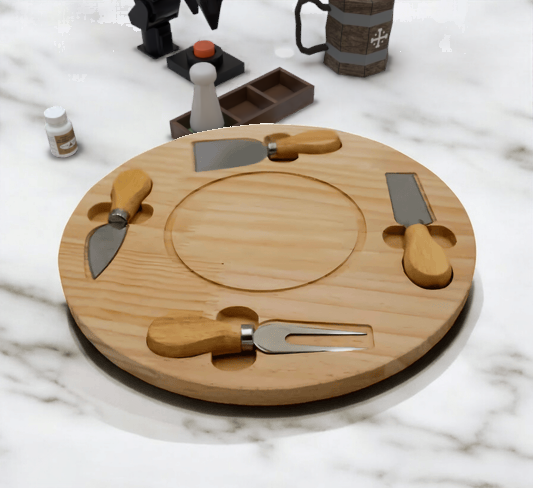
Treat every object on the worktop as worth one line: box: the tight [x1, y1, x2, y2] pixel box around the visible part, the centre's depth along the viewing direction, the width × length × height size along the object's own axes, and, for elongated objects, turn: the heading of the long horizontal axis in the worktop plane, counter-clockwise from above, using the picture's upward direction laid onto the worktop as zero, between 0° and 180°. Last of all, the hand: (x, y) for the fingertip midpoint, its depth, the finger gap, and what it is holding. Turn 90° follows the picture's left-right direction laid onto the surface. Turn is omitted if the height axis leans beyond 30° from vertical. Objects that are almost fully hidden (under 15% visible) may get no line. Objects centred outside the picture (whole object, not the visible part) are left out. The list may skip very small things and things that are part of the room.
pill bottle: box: [43, 105, 79, 158], centre depth 108 cm, size 4×4×8 cm
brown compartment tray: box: [169, 66, 316, 140], centre depth 116 cm, size 9×26×4 cm, turn 133°
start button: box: [192, 39, 215, 58], centre depth 126 cm, size 4×4×2 cm
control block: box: [165, 43, 245, 87], centre depth 127 cm, size 12×10×4 cm
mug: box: [294, 0, 396, 79], centre depth 126 cm, size 20×14×15 cm
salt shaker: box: [190, 62, 224, 133], centre depth 108 cm, size 6×6×13 cm
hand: (204, 21), depth 119 cm, fingers open, 9 cm apart
